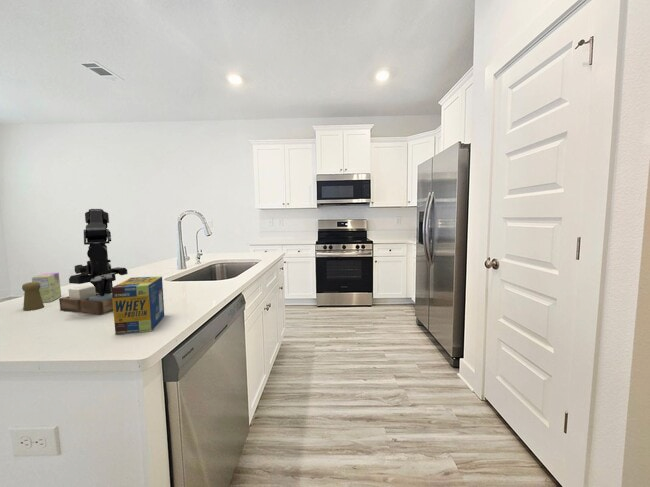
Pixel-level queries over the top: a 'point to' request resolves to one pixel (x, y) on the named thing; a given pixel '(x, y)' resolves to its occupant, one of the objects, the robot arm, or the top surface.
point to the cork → (32, 296)
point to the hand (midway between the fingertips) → (102, 295)
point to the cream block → (82, 292)
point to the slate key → (100, 297)
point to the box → (48, 286)
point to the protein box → (138, 304)
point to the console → (86, 305)
